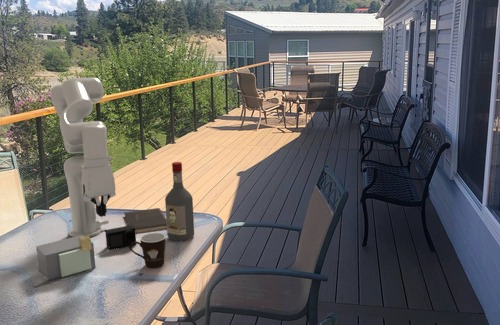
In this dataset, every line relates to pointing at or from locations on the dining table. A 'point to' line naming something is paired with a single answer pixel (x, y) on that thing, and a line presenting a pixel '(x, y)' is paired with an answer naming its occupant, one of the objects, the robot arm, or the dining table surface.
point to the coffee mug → (152, 249)
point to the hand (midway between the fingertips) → (101, 215)
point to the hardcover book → (146, 220)
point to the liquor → (179, 208)
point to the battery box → (50, 259)
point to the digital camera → (120, 237)
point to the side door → (76, 258)
